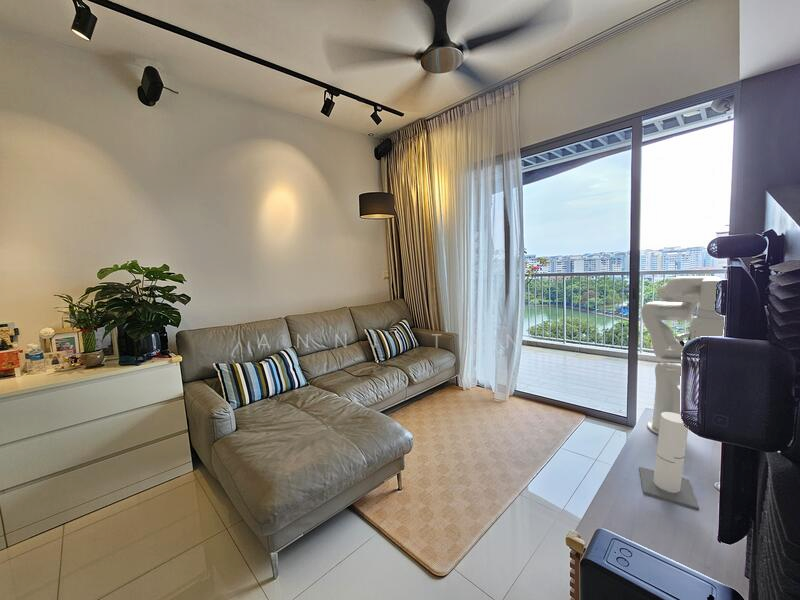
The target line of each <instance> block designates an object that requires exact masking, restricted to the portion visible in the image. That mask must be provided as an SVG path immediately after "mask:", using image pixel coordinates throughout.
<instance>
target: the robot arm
mask: <svg viewBox="0 0 800 600" xmlns="http://www.w3.org/2000/svg"><path fill="white" fill-rule="evenodd" d="M721 280H726V279H723V278H721V277H719V276H713V275H710V276H709V275H701V276H700V275H698V276H696V275H695V276H694V275H686V276H685V275H682V276H681V275H680V276H676V277H672V278H671V277H670V278H669V279H668V280H667V283H664V284H662V285H660V286H659V287H658V288H657V291H656V295H657V298H658V299H659V300H661V301H651V302H647V303H645V304H643V306H642V307H641V313H640V314H641V319H642V323H643V325H644V327H645V328H646V329H647V331H648V333H649V336H650V337H649V338H650V340H651V345H652V348H653V352H654V355H655V357H656V358H657V359H658V360H660V361H661V362H660V361H659V362H658V363H657V364H656V365H655V366H654V374H655V393H654V400H653V410H652V419H651V421H650V420H649V421H648V422H647V423H646V425H647V428H648V429H649V431H651V432H652V433H654V434H655V435H658V436H659V427H660V418H661V413H663V412H673V413H677V414H680V390H681V389H680V388H679V386H681V385H680V376H681V350H682V348H683V346H684V344H685V343H686V342H687V341H689V340H691V339H693V338H696V337H700V336H722V335H723V327H724V317H723V316H720V315H718V314H717V313H716V312H715V308H714V304H715V301H716V289H717V287H716V284H717V283H718V282H719V281H721ZM717 294H718V290H717ZM696 307H697V309H696ZM695 309H696V315H695V316H694V315H693V312H695ZM692 315H693V317H692V320H691V321H690V326H689V330H688V332H683V333H680V334H677V335H676V337H675V336H674V335H675V334H674V331H673V329H672V328H671V327H670V326H668V325H667V324H666V323H665V322H663V321H673V322H674V321H678V322H679V321H680V322H683V321H687V320H689V319H690V318H691V316H692ZM684 338H687V340H683V339H684Z"/></svg>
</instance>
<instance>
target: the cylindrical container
mask: <svg viewBox="0 0 800 600" xmlns="http://www.w3.org/2000/svg"><path fill="white" fill-rule="evenodd" d="M688 432H689V428H688V429H687V428H686V427H685V426H684V424H683V421H682V419H681V416H680V414H677V413H673V412H663V413H661V418H660V427H659V435H658V438H657V447H656V453H655V455H656V456H655V464H654V480H653V481H654V483H655V485H656V486H658V487H659V488H661V489H663V490H665V491H668V492H672V493H677V492H679V491H680V488H681V480H682V478H683V471H684V470H683V469H684V463H685V457H686V450H687V449H686V447H687V441H688V440H687V439H688Z"/></svg>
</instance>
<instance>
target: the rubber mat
mask: <svg viewBox="0 0 800 600" xmlns="http://www.w3.org/2000/svg"><path fill="white" fill-rule="evenodd" d="M638 469H639V475H640V481H641V487H642V488H643V489H642V494H644V493H645V494H644V495H647V494H648V495H647V496H651V495H652V496H651V497H654V498H658V499H661V500H664V501H668V502H670V503H675V504H677V505H681V506H685V507H687V508H692V509H695V510H699V509H700V507H699V504H698V501H697V498H696V496H695V493H694V490H693V487H692V484H691V481H690V479H688V478H684V477H682V480H681V488H680V491H679V492H677V493H672V492H668V491H665V490H663V489H661V488H659V487H658V486H656V485H655V483H654V481H653V480H654V471H655V469H651V468H645V467H642V466H639V468H638Z"/></svg>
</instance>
